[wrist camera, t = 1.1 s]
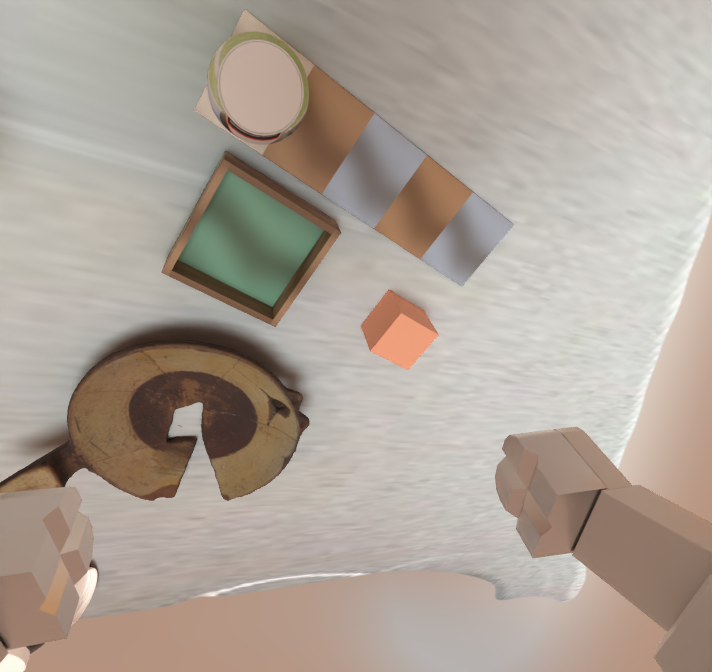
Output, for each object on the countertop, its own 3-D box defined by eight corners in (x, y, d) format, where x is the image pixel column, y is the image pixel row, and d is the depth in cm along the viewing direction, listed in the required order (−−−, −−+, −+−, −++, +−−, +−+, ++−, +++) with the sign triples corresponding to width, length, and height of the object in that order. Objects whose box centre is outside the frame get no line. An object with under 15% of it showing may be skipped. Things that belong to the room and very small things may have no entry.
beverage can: (201, 116, 37) (181, 145, 27) (227, 14, 34) (216, 6, 24) (276, 148, 39) (284, 186, 30) (307, 55, 36) (328, 63, 26)
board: (244, 9, 34) (244, 8, 33) (512, 223, 47) (513, 224, 47) (194, 109, 37) (193, 110, 36) (460, 285, 50) (461, 286, 50)
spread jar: (-25, 558, 59) (-79, 661, 49) (61, 530, 59) (24, 627, 49) (37, 602, 65) (0, 700, 56) (113, 577, 66) (90, 670, 56)
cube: (388, 289, 49) (401, 313, 45) (423, 310, 51) (438, 334, 47) (360, 325, 50) (370, 351, 46) (395, 343, 53) (407, 370, 49)
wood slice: (288, 474, 61) (292, 525, 55) (24, 472, 53) (-7, 532, 47) (318, 330, 50) (328, 373, 44) (-10, 299, 42) (-57, 347, 35)
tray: (225, 150, 39) (223, 159, 36) (335, 221, 44) (341, 232, 41) (166, 258, 42) (161, 272, 40) (274, 311, 47) (275, 327, 45)
